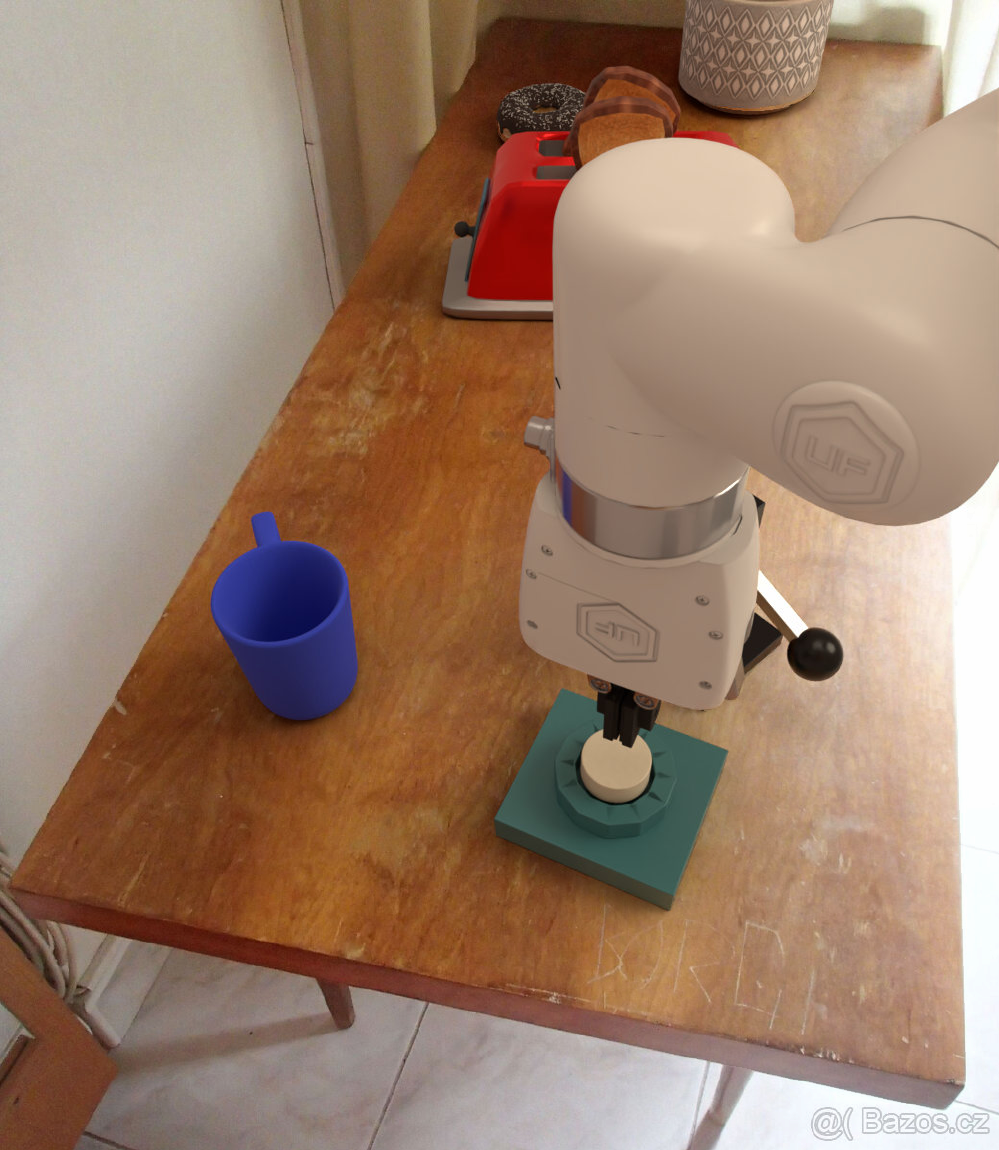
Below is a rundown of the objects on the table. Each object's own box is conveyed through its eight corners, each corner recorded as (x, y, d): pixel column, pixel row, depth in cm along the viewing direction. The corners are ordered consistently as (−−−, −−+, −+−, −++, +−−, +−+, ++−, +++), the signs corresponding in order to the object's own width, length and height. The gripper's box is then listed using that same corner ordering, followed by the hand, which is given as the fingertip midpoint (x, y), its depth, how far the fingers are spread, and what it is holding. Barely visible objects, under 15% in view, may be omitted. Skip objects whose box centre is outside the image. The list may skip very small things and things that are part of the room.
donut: (477, 132, 116) (475, 98, 113) (556, 102, 120) (556, 68, 117) (536, 168, 110) (535, 133, 107) (616, 135, 114) (618, 100, 111)
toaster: (441, 321, 92) (421, 121, 78) (453, 245, 100) (438, 51, 86) (789, 324, 90) (835, 119, 76) (773, 246, 98) (812, 48, 84)
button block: (723, 767, 62) (733, 734, 58) (670, 911, 56) (677, 882, 53) (561, 705, 65) (562, 671, 62) (495, 835, 59) (492, 804, 56)
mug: (343, 582, 72) (319, 484, 65) (383, 715, 65) (361, 623, 57) (231, 612, 71) (193, 516, 63) (259, 751, 63) (219, 662, 56)
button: (659, 757, 58) (661, 741, 57) (634, 814, 56) (637, 799, 54) (595, 732, 59) (597, 717, 58) (569, 787, 57) (570, 772, 56)
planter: (816, 65, 124) (839, -49, 114) (812, 127, 114) (837, 7, 104) (685, 57, 127) (696, -55, 117) (669, 116, 117) (680, -1, 107)
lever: (834, 667, 60) (864, 653, 57) (801, 697, 59) (830, 684, 56) (697, 504, 62) (720, 482, 59) (662, 530, 61) (684, 509, 58)
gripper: (438, 484, 39) (471, 728, 53) (815, 600, 34) (743, 835, 48) (518, 373, 43) (529, 626, 57) (863, 463, 39) (784, 715, 53)
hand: (627, 721), depth 53 cm, fingers closed
